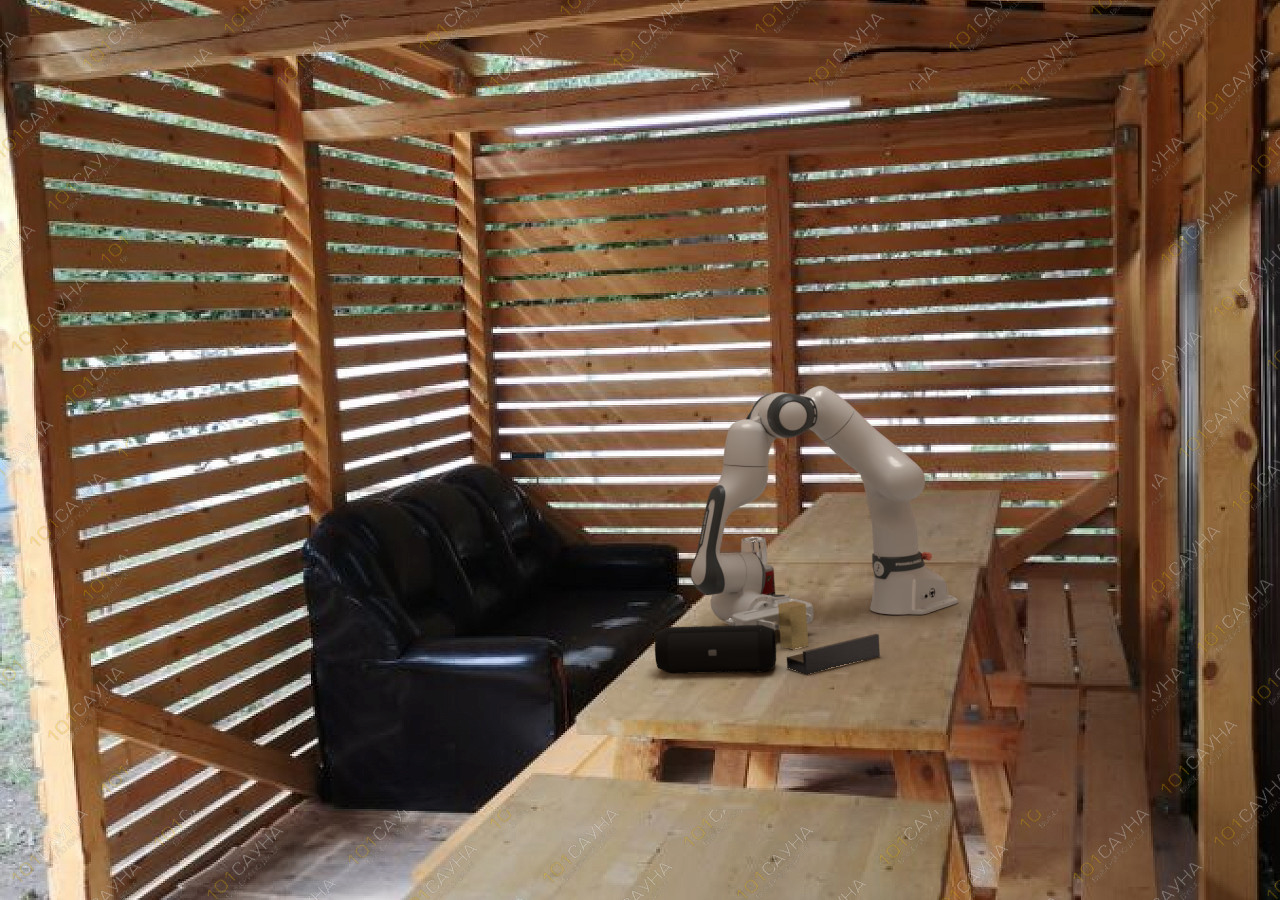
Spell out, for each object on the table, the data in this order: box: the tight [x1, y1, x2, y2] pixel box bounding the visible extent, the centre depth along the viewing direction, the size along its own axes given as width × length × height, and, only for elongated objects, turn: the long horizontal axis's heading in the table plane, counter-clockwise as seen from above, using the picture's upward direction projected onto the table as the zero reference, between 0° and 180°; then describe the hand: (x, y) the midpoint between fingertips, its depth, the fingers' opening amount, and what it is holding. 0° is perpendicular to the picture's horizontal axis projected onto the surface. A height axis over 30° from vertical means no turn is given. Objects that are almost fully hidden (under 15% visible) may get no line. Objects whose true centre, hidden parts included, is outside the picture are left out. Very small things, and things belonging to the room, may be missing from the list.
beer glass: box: [740, 536, 768, 565], centre depth 366 cm, size 7×7×15 cm
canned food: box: [762, 564, 776, 595], centre depth 348 cm, size 8×8×11 cm
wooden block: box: [778, 601, 809, 649], centre depth 309 cm, size 4×4×10 cm
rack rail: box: [786, 633, 881, 676], centre depth 294 cm, size 7×20×5 cm, turn 120°
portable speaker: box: [654, 625, 777, 674], centre depth 294 cm, size 26×10×10 cm, turn 79°
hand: (792, 623), depth 309 cm, fingers open, 8 cm apart
